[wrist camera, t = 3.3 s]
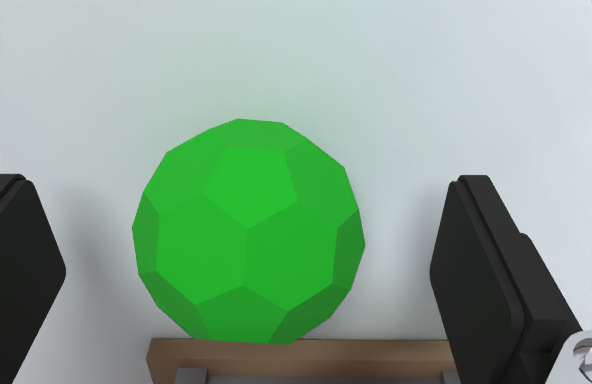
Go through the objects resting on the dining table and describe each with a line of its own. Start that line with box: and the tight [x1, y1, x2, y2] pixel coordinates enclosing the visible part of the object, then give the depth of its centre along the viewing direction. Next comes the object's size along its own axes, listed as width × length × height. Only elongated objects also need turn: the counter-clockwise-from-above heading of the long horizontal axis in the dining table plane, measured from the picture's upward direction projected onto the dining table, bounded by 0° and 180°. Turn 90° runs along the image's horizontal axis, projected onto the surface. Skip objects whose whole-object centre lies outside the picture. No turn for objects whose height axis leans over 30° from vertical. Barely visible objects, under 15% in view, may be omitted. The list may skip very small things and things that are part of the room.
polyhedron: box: [132, 119, 365, 344], centre depth 11 cm, size 5×5×5 cm
